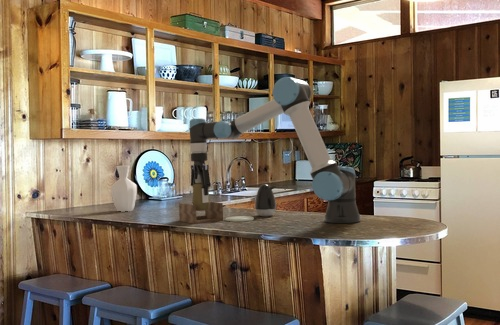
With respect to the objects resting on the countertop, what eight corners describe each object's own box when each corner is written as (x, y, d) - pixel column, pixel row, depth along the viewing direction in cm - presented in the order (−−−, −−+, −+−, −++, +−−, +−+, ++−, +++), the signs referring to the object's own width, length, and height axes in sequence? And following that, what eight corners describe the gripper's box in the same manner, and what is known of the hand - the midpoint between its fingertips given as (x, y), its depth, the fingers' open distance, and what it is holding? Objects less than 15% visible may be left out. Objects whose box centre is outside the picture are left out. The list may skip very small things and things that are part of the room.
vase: (143, 210, 308) (141, 165, 308) (124, 213, 296) (122, 166, 296) (124, 209, 316) (123, 165, 315) (105, 212, 304) (104, 166, 303)
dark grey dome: (275, 217, 259) (274, 184, 259) (253, 217, 261) (252, 184, 261) (278, 214, 269) (277, 183, 269) (257, 214, 271) (256, 183, 271)
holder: (223, 220, 252) (222, 202, 252) (193, 223, 245) (193, 205, 245) (208, 217, 265) (207, 200, 265) (179, 220, 258) (179, 203, 257)
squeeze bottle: (196, 211, 249) (194, 171, 249) (190, 210, 256) (188, 171, 256) (213, 210, 253) (211, 170, 253) (206, 208, 260) (204, 170, 260)
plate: (259, 219, 251) (259, 218, 251) (234, 222, 244) (234, 220, 244) (244, 217, 262) (244, 215, 262) (220, 219, 255) (220, 218, 255)
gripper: (216, 151, 247) (219, 202, 248) (196, 152, 265) (198, 200, 265) (201, 152, 243) (204, 204, 244) (181, 153, 261) (184, 201, 262)
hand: (201, 202), depth 255 cm, fingers closed on squeeze bottle, 8 cm apart
